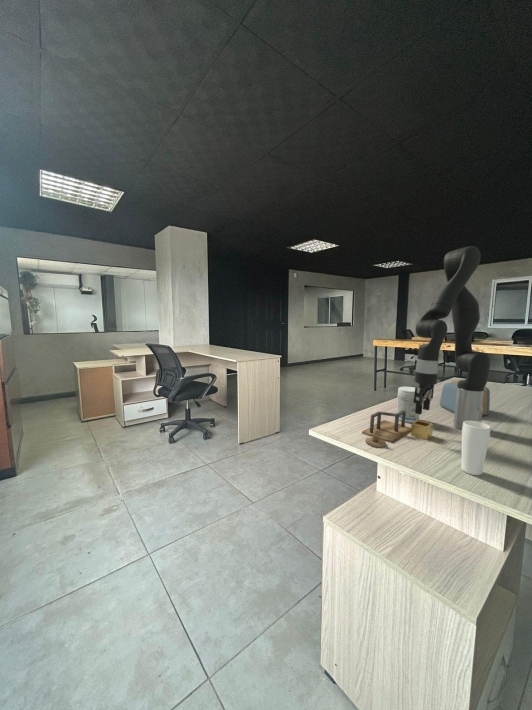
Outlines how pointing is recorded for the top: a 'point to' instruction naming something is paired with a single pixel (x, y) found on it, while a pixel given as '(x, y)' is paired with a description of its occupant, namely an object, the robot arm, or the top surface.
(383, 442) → the end peg
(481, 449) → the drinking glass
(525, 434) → the top surface
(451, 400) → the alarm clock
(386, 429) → the wire board
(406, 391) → the supplement tub
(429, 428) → the yellow open box
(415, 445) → the top surface
